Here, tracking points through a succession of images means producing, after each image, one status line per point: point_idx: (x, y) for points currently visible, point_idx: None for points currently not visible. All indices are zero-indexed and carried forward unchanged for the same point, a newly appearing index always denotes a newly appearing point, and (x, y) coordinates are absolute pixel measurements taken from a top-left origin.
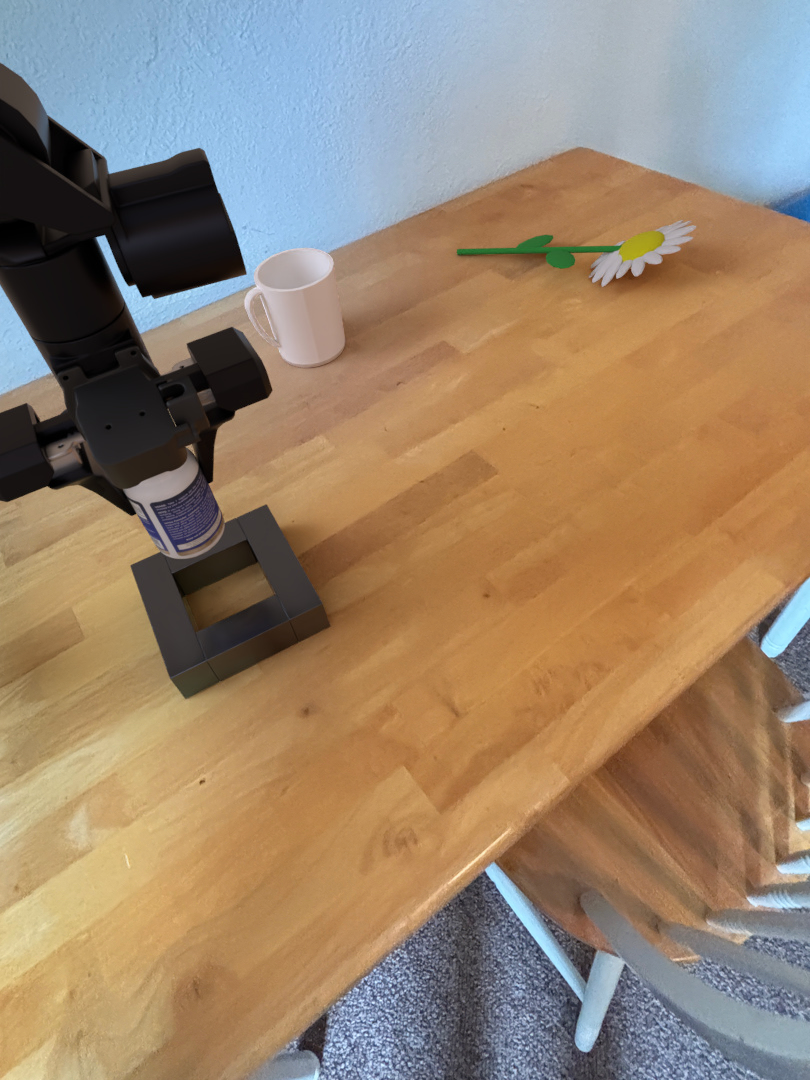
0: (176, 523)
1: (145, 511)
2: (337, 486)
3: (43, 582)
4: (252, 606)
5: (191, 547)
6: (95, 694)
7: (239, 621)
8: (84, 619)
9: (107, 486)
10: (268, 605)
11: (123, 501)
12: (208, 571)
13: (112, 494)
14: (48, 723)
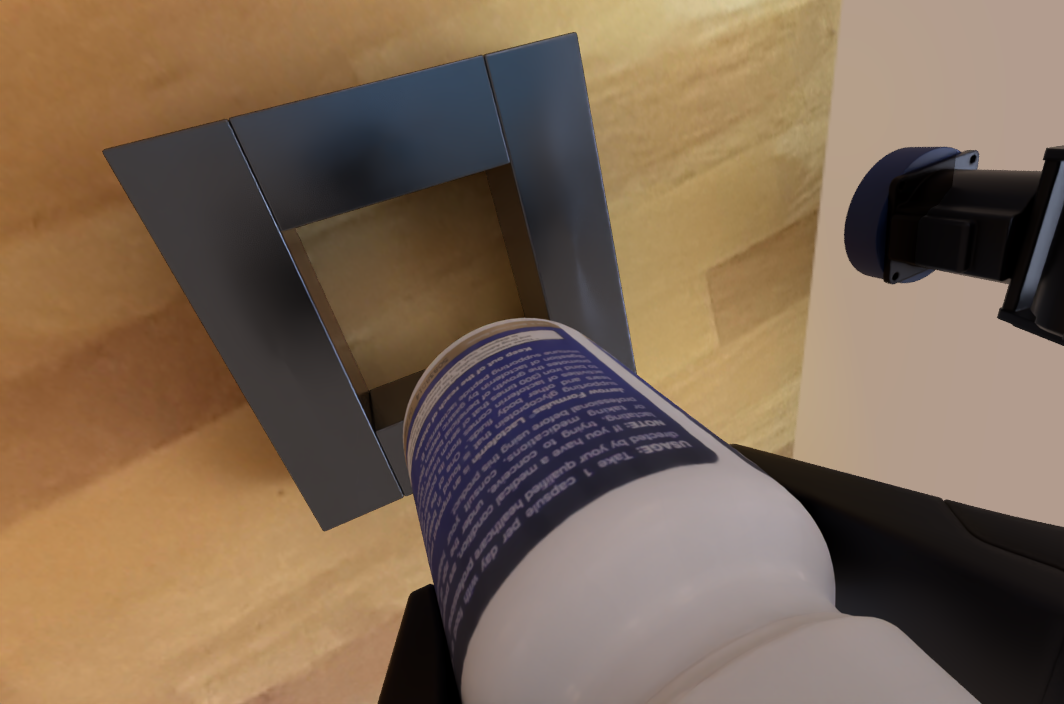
0: (573, 388)
1: (714, 436)
2: (160, 585)
3: (753, 404)
4: (353, 205)
5: (513, 334)
6: (700, 136)
7: (391, 162)
8: (703, 315)
9: (978, 554)
10: (302, 195)
11: (809, 487)
12: None
13: (900, 513)
14: (775, 98)
